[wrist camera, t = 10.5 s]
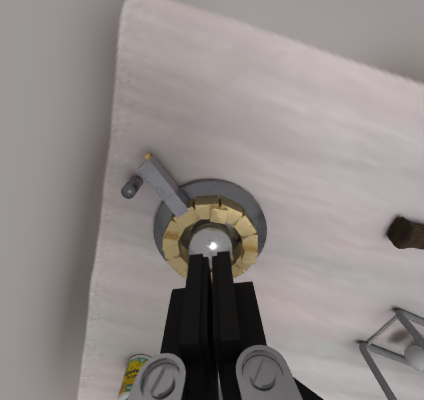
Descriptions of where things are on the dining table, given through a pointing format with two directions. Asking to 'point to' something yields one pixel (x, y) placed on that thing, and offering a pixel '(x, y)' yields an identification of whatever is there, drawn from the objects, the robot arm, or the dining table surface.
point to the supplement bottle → (131, 374)
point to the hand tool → (406, 234)
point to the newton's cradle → (414, 354)
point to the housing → (204, 229)
